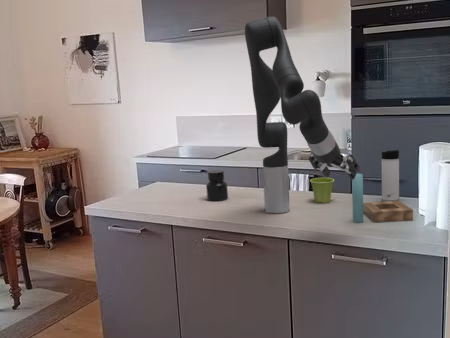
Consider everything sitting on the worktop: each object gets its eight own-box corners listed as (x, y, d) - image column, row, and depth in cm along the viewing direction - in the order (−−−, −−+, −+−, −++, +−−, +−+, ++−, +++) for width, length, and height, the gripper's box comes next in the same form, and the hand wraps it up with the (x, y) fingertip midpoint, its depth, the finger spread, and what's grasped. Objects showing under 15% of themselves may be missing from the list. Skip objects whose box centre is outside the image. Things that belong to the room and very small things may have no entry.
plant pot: (339, 202, 191) (339, 180, 190) (318, 205, 188) (318, 183, 186) (326, 197, 200) (325, 176, 198) (306, 200, 196) (305, 179, 195)
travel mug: (391, 204, 183) (391, 151, 180) (378, 200, 189) (377, 149, 186) (403, 201, 186) (403, 149, 183) (390, 198, 192) (390, 147, 189)
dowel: (354, 223, 163) (353, 175, 160) (351, 220, 166) (350, 173, 163) (364, 222, 163) (363, 175, 160) (361, 219, 166) (361, 173, 163)
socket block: (373, 222, 162) (373, 212, 161) (362, 212, 175) (362, 202, 174) (413, 220, 162) (413, 209, 161) (399, 210, 174) (399, 200, 174)
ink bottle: (218, 195, 216) (216, 168, 213) (232, 197, 209) (231, 170, 207) (202, 200, 209) (200, 172, 207) (216, 202, 203) (214, 174, 201)
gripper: (296, 153, 145) (316, 183, 156) (340, 156, 136) (358, 188, 147) (305, 133, 148) (324, 164, 159) (349, 135, 139) (366, 168, 150)
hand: (340, 176), depth 153 cm, fingers open, 8 cm apart
